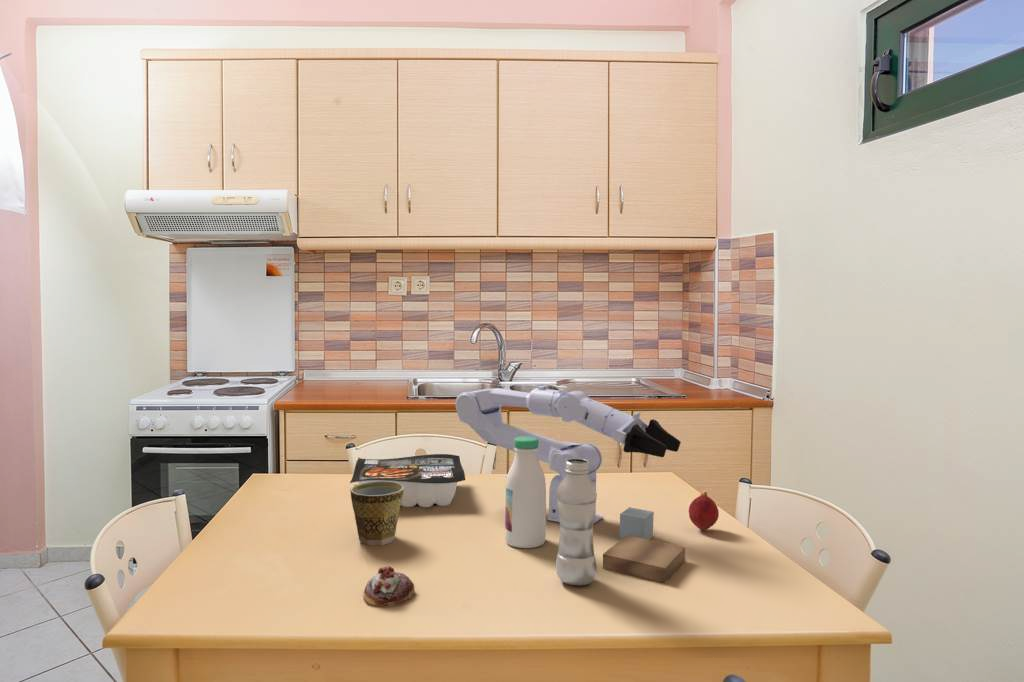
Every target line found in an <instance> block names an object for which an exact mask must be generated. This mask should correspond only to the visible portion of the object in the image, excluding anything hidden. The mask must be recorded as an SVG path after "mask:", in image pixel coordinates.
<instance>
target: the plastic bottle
mask: <svg viewBox="0 0 1024 682" xmlns="http://www.w3.org/2000/svg"><path fill="white" fill-rule="evenodd" d="M565 472H566V473H567V475H566V477H565V478H564V479H563V480H562V482H561V483H560V485H559V486H558V489H557V503H558V510H559V522H558V523H559V539H558V548H557V549H558V552H557V553H556V558H555V559H556V560H555V570H556V575H557V577H558V578H559V579H560V581H561V582H563V583H564V584H567V585H571V586H585V585H589V584H591V583H592V582H593V581H594V579H595V577H596V574H597V568H598V567H597V562H596V555H595V547H594V535H593V533H594V524H593V522H594V512H595V505H596V506H597V497H598V496H597V489H596V490H595V487H594V485H593V484H592V482H591V481H590V479H589V478H588V476H587V474H588V473H589V461H587V460H584V459H568V460H566V468H565Z"/></svg>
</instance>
